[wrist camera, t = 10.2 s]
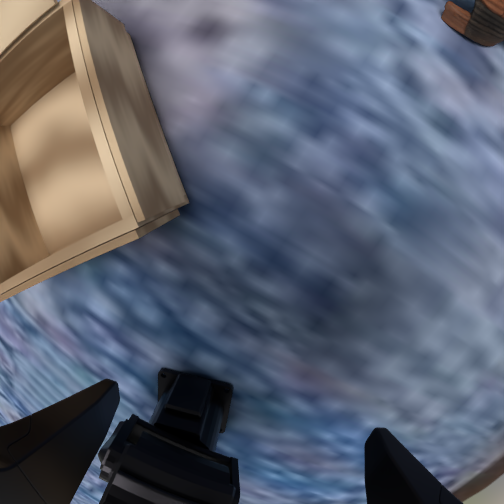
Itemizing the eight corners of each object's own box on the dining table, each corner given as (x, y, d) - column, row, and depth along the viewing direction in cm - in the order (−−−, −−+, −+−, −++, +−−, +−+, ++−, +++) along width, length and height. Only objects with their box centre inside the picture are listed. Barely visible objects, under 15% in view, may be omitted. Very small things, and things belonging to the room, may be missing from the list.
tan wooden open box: (197, 206, 20) (150, 233, 13) (52, 270, 23) (-9, 306, 15) (135, 31, 17) (77, -12, 9) (7, 126, 20) (-57, 128, 12)
